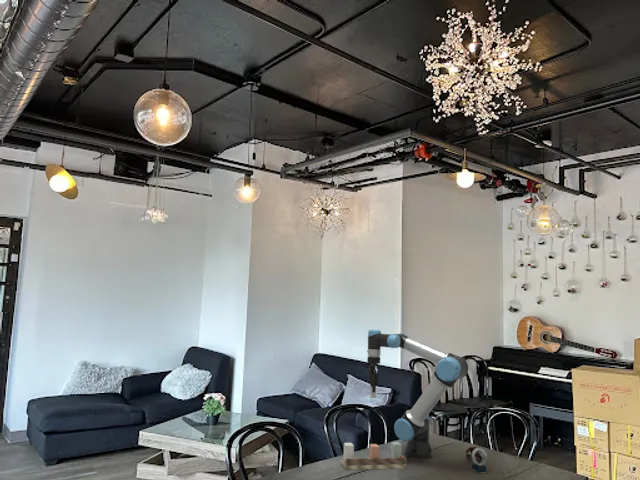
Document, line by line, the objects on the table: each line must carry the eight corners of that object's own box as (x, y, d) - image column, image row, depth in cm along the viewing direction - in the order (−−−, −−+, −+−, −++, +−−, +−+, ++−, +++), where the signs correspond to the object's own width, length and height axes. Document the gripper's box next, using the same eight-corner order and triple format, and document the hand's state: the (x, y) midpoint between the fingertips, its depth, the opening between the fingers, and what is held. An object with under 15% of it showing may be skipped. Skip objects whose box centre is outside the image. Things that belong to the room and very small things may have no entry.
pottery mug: (488, 464, 255) (482, 451, 254) (472, 471, 255) (465, 458, 255) (481, 452, 267) (475, 439, 266) (466, 458, 267) (460, 446, 267)
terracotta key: (376, 460, 246) (376, 444, 248) (379, 463, 242) (379, 446, 243) (369, 460, 246) (369, 444, 247) (371, 463, 241) (372, 447, 242)
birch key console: (399, 461, 252) (399, 450, 253) (406, 468, 242) (406, 456, 243) (341, 463, 246) (341, 451, 247) (346, 470, 236) (346, 457, 237)
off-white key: (350, 458, 247) (351, 442, 248) (353, 461, 242) (353, 445, 243) (343, 458, 246) (343, 442, 247) (345, 462, 241) (346, 445, 243)
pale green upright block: (397, 457, 252) (398, 442, 253) (401, 460, 247) (401, 444, 248) (390, 457, 251) (391, 442, 252) (393, 460, 246) (394, 444, 247)
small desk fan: (489, 472, 241) (488, 449, 243) (476, 473, 239) (476, 450, 240) (482, 468, 246) (481, 446, 248) (469, 469, 244) (469, 447, 245)
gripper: (364, 355, 283) (363, 395, 280) (371, 357, 271) (370, 400, 267) (376, 355, 285) (375, 395, 281) (383, 357, 272) (382, 400, 269)
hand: (373, 397), depth 274 cm, fingers closed
